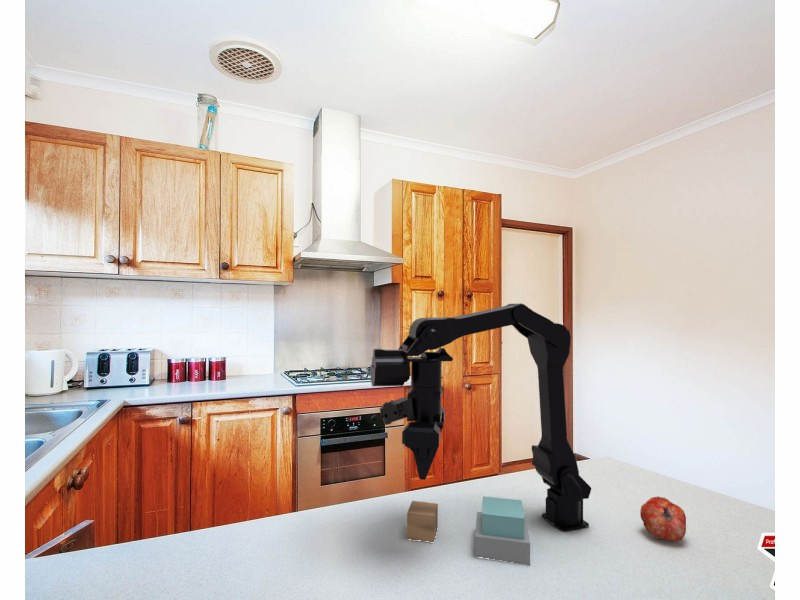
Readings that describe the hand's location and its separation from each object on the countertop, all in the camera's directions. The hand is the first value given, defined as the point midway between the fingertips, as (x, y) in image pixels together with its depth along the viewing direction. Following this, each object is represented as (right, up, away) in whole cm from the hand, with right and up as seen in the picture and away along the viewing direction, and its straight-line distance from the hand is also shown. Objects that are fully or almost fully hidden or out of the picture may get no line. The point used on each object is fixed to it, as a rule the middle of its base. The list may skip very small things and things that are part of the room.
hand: (425, 469), depth 79 cm
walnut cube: (0, -12, 0) cm, 12 cm away
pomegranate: (+45, -13, +1) cm, 47 cm away
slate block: (+13, -13, -3) cm, 19 cm away
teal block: (+14, -9, -3) cm, 17 cm away
